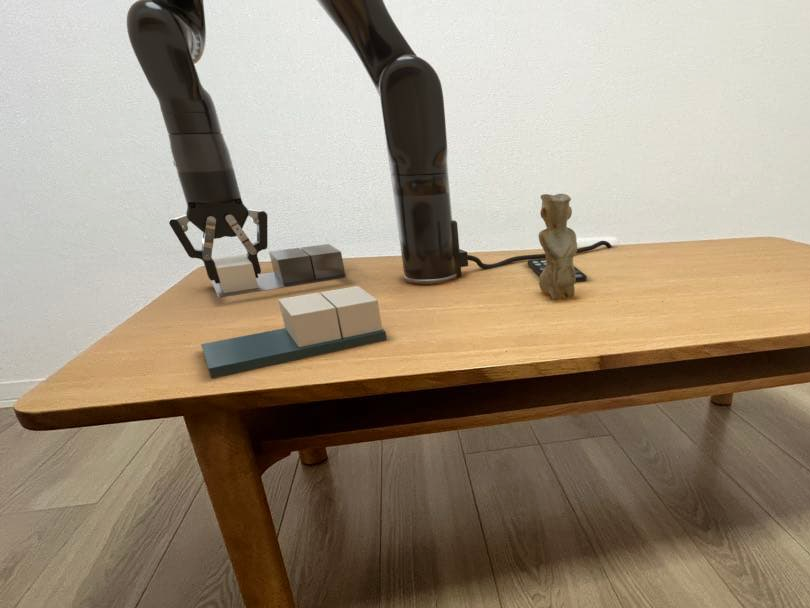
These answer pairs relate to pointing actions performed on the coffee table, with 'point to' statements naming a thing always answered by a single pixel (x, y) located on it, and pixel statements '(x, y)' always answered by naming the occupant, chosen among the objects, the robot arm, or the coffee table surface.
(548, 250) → the sculpture
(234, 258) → the beige block
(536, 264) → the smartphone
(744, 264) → the coffee table surface
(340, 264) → the grey board with blocks
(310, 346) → the teal base board
